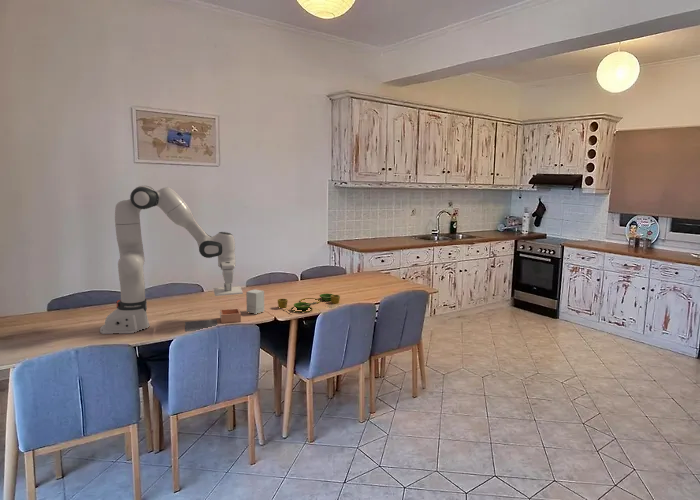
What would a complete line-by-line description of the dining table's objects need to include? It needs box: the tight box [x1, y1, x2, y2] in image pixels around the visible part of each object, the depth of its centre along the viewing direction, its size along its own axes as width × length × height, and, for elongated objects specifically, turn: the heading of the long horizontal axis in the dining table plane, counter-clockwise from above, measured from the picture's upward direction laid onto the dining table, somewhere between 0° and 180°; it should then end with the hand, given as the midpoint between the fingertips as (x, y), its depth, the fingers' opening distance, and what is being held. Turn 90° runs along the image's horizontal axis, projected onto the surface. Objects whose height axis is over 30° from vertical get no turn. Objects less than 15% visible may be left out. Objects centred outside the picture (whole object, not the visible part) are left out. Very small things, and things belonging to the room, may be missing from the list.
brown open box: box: [219, 308, 242, 324], centre depth 248 cm, size 10×10×5 cm
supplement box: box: [245, 288, 265, 315], centre depth 264 cm, size 7×7×13 cm
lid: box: [213, 282, 244, 297], centre depth 245 cm, size 14×14×4 cm
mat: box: [184, 319, 219, 332], centre depth 238 cm, size 16×16×1 cm
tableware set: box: [277, 293, 342, 313], centre depth 283 cm, size 41×28×6 cm
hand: (227, 288), depth 245 cm, fingers closed on lid, 3 cm apart
